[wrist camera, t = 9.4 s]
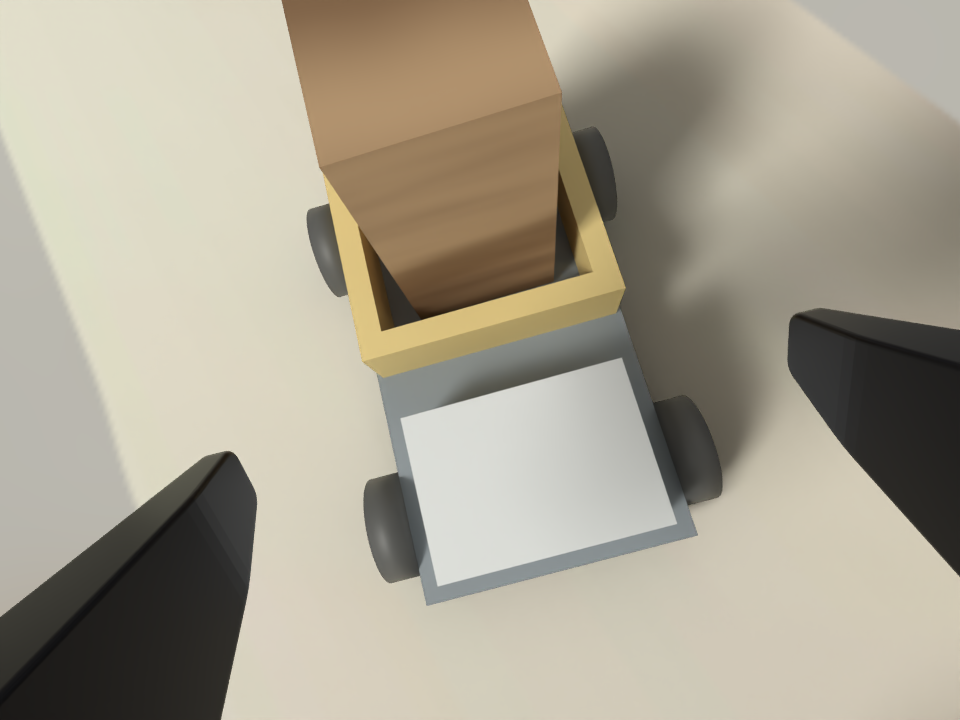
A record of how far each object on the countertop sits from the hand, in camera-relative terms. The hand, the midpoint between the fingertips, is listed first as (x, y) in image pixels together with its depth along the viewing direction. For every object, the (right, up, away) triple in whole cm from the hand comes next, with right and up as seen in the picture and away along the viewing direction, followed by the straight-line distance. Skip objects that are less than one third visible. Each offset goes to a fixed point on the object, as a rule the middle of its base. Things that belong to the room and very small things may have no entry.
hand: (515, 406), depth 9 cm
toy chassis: (0, +1, +14) cm, 14 cm away
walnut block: (-1, +5, +13) cm, 14 cm away
